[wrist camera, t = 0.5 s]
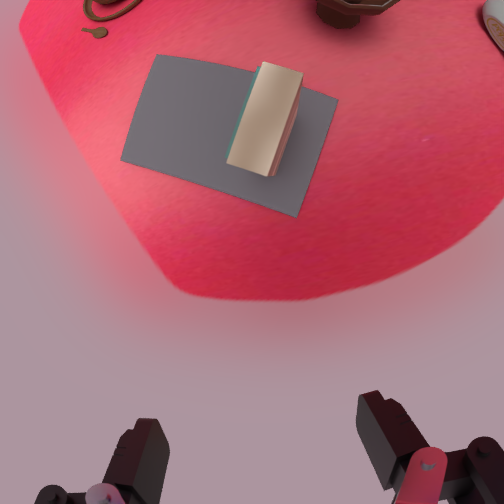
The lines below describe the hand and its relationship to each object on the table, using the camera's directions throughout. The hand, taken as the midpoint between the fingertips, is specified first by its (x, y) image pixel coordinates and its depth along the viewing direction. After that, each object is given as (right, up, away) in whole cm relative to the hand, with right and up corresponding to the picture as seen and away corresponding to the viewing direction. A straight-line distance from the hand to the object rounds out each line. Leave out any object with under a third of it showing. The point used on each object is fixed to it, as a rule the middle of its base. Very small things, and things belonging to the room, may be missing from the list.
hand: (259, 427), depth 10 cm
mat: (-4, +21, +21) cm, 29 cm away
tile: (+2, +19, +20) cm, 27 cm away
